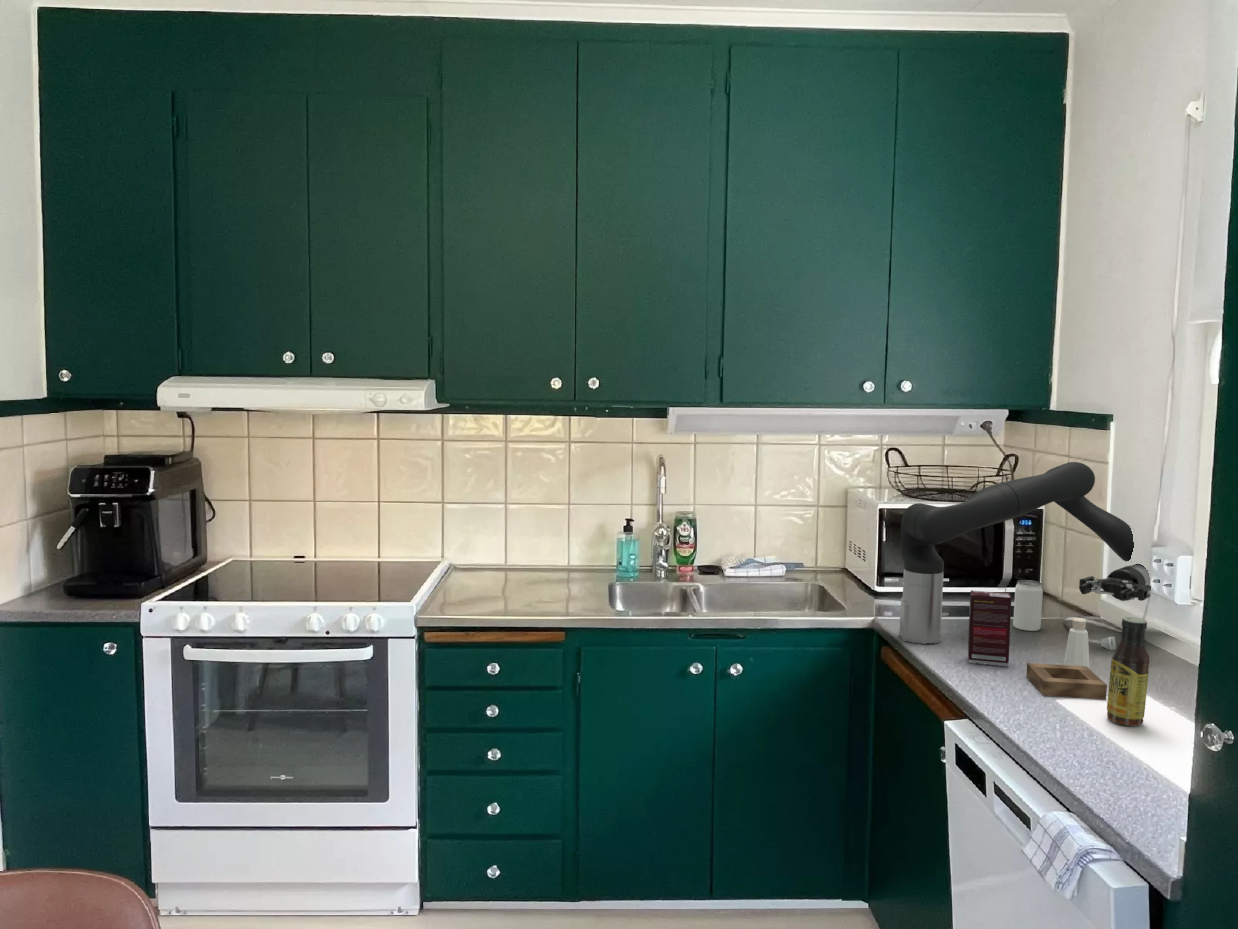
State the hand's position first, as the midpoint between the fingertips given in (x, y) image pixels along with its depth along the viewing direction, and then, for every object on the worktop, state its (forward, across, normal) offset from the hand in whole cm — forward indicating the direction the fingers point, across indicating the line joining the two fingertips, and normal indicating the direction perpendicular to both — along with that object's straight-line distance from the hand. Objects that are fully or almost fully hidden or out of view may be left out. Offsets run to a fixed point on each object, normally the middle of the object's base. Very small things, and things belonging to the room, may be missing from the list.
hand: (1102, 593), depth 212 cm
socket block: (+28, +4, +15) cm, 32 cm away
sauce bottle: (+39, +20, +15) cm, 46 cm away
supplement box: (+24, -15, +15) cm, 32 cm away
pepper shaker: (+12, 0, +15) cm, 19 cm away
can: (-12, -22, +15) cm, 29 cm away
